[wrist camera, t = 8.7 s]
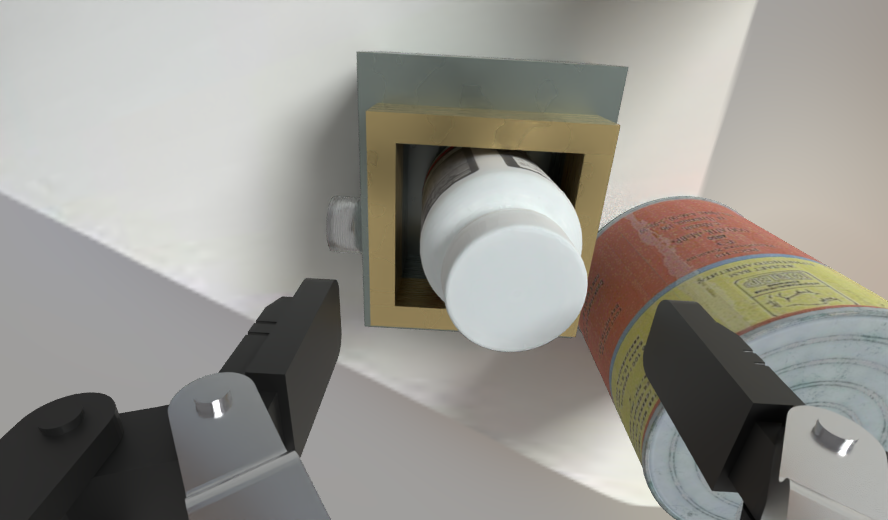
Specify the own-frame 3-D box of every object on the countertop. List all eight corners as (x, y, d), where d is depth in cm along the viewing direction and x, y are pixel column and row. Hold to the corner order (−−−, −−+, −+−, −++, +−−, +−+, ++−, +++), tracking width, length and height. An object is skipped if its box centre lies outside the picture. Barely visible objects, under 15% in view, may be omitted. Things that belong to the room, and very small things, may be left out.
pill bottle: (436, 254, 22) (440, 387, 13) (410, 147, 20) (393, 223, 11) (544, 231, 22) (620, 353, 13) (529, 120, 20) (610, 176, 11)
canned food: (682, 383, 30) (810, 571, 19) (535, 323, 28) (585, 493, 17) (805, 244, 26) (1062, 386, 15) (640, 162, 24) (794, 255, 13)
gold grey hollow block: (340, 49, 22) (277, 48, 14) (585, 62, 22) (656, 69, 14) (349, 268, 27) (307, 356, 19) (548, 279, 27) (585, 371, 19)
